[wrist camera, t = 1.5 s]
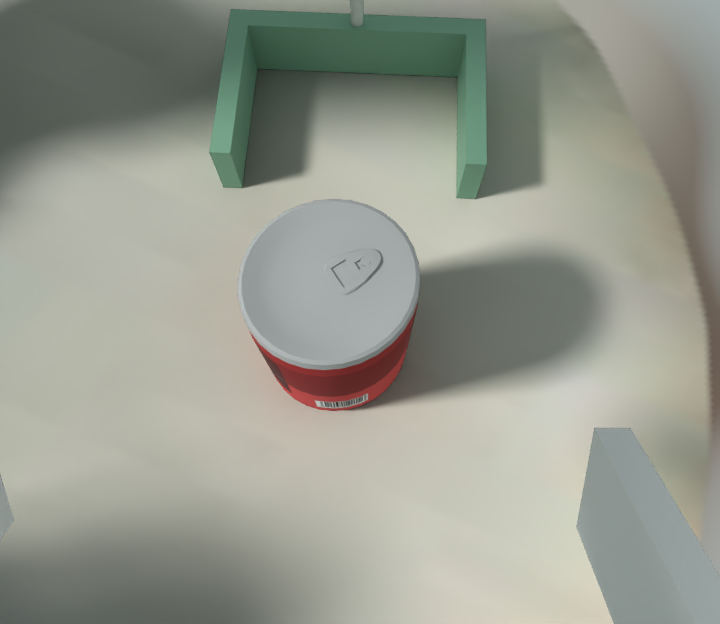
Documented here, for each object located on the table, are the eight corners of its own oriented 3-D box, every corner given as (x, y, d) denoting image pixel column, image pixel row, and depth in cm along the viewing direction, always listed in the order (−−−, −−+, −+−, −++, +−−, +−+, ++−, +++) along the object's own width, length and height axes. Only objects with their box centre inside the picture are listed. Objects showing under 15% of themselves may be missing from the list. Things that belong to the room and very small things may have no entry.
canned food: (432, 341, 38) (458, 268, 28) (340, 444, 36) (330, 407, 26) (336, 260, 40) (327, 163, 29) (243, 354, 38) (197, 286, 28)
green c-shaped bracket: (223, 187, 42) (126, -55, 24) (242, 53, 45) (167, -241, 28) (475, 198, 41) (554, -39, 24) (475, 63, 45) (544, -230, 27)
